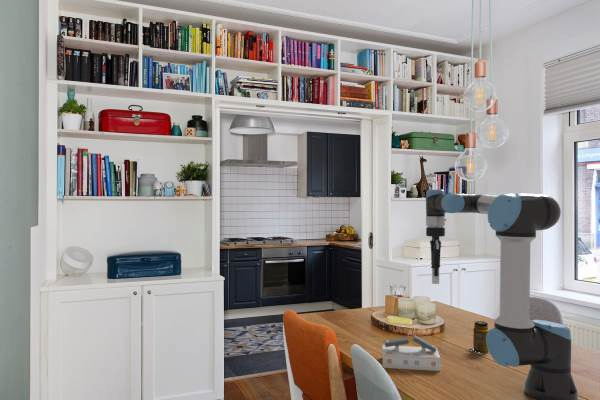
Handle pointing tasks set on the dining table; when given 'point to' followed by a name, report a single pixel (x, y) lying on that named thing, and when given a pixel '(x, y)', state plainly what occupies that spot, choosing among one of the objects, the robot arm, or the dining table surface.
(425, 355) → the switch unit
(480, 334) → the condiment
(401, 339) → the rocker
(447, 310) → the dining table surface
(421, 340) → the rocker
